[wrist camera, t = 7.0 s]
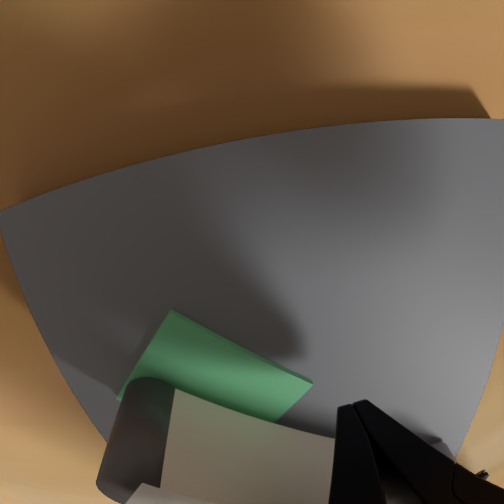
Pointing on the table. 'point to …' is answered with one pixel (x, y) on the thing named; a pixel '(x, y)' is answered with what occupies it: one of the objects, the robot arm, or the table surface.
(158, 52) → the table surface
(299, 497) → the light grey rounded bar
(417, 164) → the plate
